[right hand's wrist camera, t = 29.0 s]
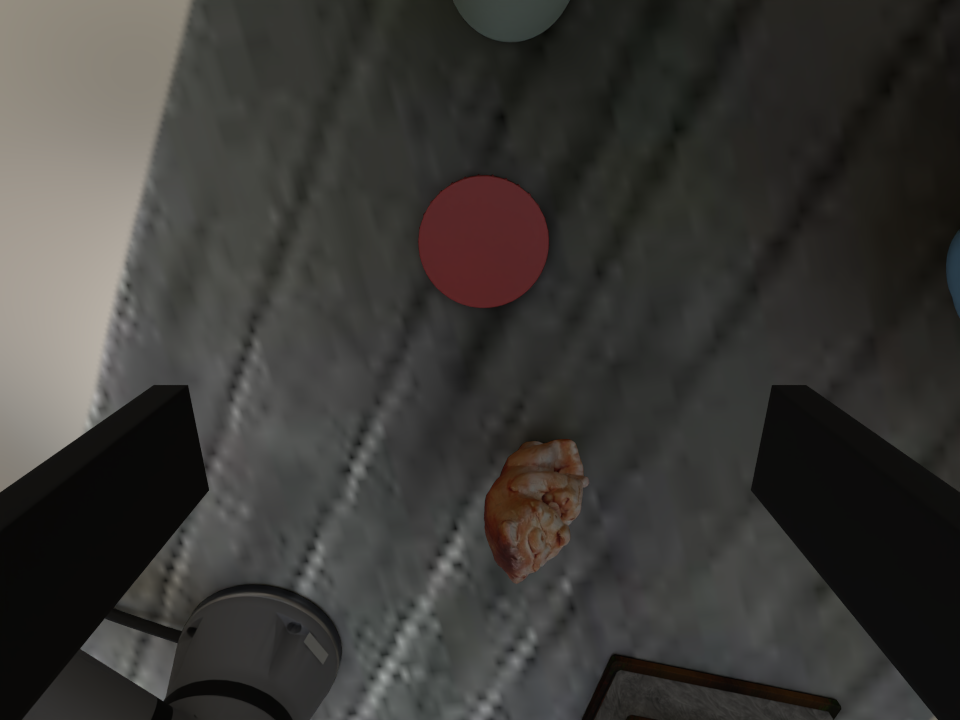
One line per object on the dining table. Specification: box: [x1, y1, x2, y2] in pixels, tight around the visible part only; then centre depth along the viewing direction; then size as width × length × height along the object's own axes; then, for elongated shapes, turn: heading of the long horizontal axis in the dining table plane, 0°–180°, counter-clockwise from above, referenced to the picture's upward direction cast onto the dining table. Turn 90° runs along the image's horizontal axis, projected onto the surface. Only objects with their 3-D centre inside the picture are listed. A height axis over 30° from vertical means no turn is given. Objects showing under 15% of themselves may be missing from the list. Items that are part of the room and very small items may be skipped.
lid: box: [418, 174, 549, 308], centre depth 40 cm, size 9×9×2 cm
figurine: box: [484, 439, 589, 584], centre depth 39 cm, size 6×8×15 cm
